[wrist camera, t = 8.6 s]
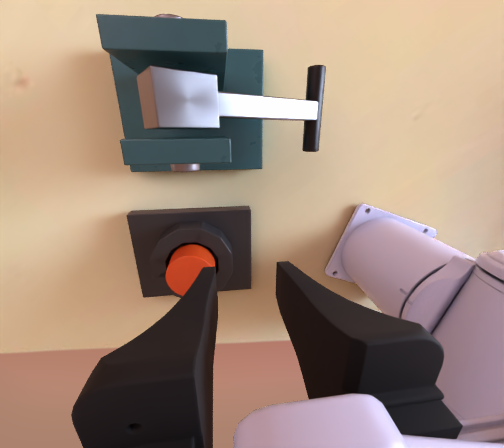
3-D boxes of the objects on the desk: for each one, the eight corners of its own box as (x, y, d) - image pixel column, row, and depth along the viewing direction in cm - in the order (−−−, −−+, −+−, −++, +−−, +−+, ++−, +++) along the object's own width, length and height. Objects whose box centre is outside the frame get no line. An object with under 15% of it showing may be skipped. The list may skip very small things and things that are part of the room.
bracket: (260, 54, 17) (305, -30, 8) (259, 167, 20) (292, 194, 11) (115, 50, 16) (-16, -54, 7) (135, 169, 19) (60, 203, 10)
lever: (308, 71, 16) (338, 64, 14) (302, 150, 18) (329, 151, 16) (130, 37, 10) (143, 16, 8) (148, 159, 12) (163, 164, 10)
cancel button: (213, 242, 19) (213, 254, 18) (216, 280, 21) (215, 295, 19) (167, 245, 19) (162, 257, 17) (173, 283, 20) (168, 299, 18)
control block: (249, 205, 21) (253, 216, 19) (249, 281, 24) (253, 301, 21) (131, 210, 20) (117, 223, 17) (146, 289, 23) (136, 311, 20)
